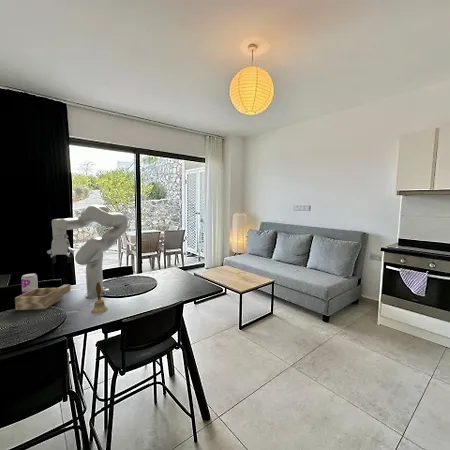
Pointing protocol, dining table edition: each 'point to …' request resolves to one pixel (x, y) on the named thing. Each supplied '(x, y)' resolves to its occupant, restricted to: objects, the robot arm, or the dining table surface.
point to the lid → (66, 288)
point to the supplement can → (29, 282)
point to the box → (38, 298)
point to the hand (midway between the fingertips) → (61, 262)
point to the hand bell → (99, 302)
